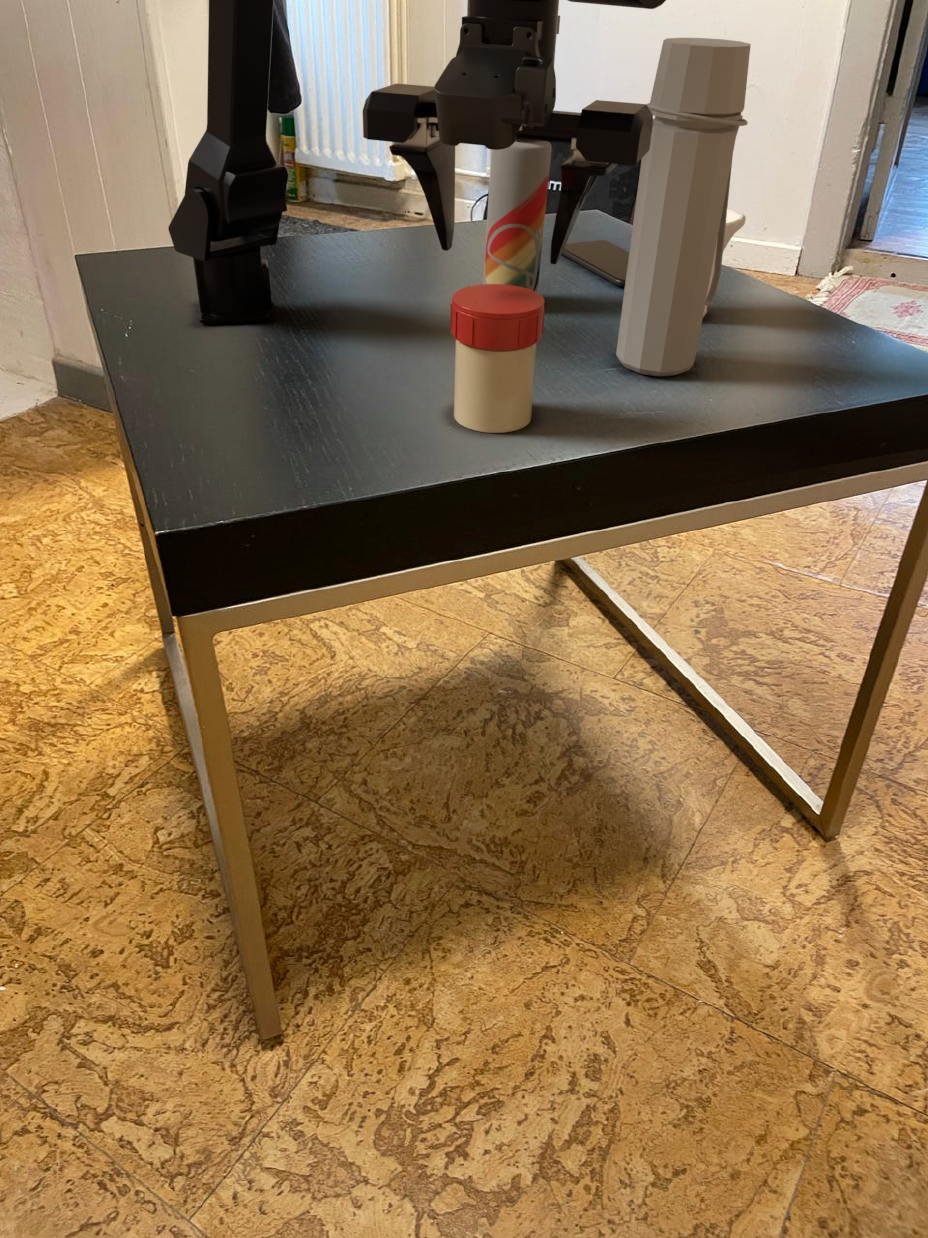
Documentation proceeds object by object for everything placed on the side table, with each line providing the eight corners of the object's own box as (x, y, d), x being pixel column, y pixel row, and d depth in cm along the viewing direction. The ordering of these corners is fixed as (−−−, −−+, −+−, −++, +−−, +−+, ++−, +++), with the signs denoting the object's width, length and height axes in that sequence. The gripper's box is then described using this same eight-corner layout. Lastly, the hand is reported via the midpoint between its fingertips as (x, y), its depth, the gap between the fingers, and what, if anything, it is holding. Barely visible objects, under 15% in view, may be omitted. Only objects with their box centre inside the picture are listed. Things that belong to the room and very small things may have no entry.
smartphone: (675, 282, 105) (605, 245, 115) (677, 274, 104) (605, 238, 115) (619, 289, 102) (552, 251, 113) (620, 281, 101) (553, 244, 112)
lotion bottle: (515, 314, 94) (535, 88, 82) (470, 301, 97) (483, 80, 85) (546, 302, 98) (569, 84, 86) (502, 290, 101) (519, 76, 89)
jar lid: (461, 352, 68) (462, 315, 66) (443, 320, 73) (444, 285, 71) (552, 348, 69) (555, 311, 67) (528, 316, 74) (531, 282, 73)
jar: (462, 435, 72) (465, 320, 67) (447, 402, 77) (449, 292, 71) (539, 430, 73) (549, 317, 68) (520, 398, 78) (527, 290, 73)
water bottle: (647, 386, 81) (700, 48, 66) (596, 355, 86) (634, 36, 71) (730, 370, 84) (798, 46, 69) (676, 341, 90) (728, 35, 75)
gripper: (320, -6, 54) (334, 270, 64) (640, 14, 50) (604, 307, 59) (392, -14, 63) (395, 230, 72) (670, 2, 58) (635, 260, 68)
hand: (499, 255), depth 68 cm, fingers open, 8 cm apart
